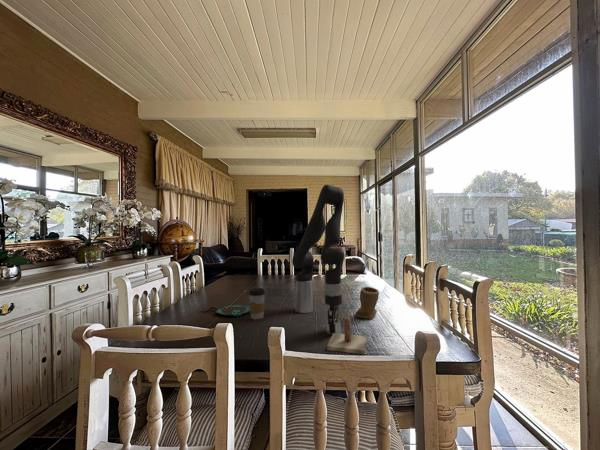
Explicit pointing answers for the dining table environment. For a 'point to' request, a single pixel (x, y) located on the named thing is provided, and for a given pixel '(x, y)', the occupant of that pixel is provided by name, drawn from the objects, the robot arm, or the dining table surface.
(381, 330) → the dining table surface
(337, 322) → the ring
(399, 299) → the dining table surface
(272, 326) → the dining table surface
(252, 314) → the coffee cup
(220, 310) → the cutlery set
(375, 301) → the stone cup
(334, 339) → the post stand
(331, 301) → the robot arm
